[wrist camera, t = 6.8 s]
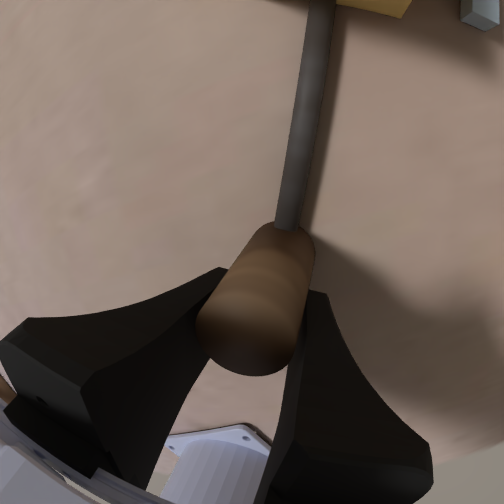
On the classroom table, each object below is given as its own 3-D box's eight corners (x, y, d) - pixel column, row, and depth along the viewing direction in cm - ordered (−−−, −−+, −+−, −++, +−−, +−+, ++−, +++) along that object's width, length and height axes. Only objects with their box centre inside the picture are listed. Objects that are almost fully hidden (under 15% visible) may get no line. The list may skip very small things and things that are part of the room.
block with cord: (268, -100, 6) (225, -175, 1) (404, -82, 5) (423, -159, 1) (214, 264, 13) (150, 343, 8) (340, 296, 12) (332, 397, 7)
